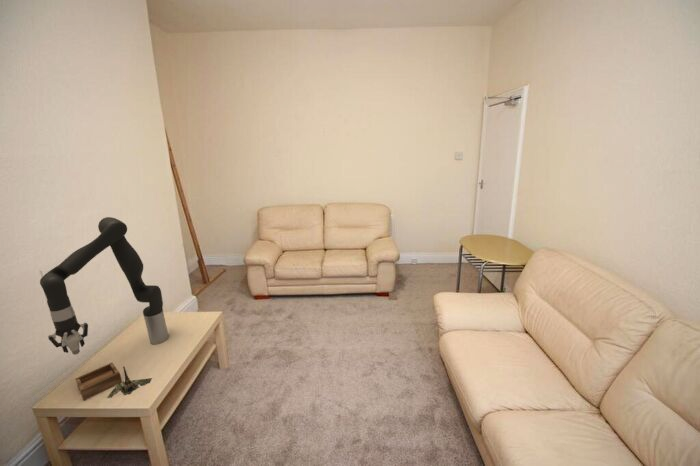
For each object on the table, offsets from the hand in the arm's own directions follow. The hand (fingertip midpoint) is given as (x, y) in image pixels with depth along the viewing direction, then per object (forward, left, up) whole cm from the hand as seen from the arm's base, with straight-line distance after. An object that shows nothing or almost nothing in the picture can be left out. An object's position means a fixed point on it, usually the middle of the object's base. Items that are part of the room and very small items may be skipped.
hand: (74, 348), depth 142 cm
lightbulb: (0, 0, -3) cm, 3 cm away
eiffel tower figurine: (+24, +12, -18) cm, 32 cm away
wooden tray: (+10, +4, -17) cm, 20 cm away
